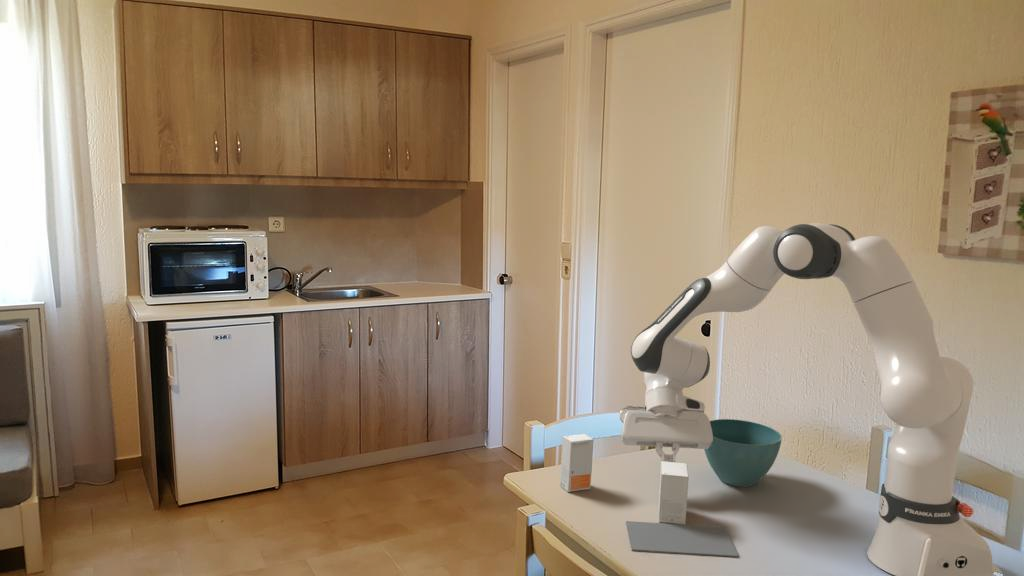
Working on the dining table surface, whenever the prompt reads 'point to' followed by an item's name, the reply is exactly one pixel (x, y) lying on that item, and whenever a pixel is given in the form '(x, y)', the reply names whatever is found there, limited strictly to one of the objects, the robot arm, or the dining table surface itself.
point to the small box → (673, 492)
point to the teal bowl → (742, 451)
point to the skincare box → (576, 462)
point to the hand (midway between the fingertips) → (668, 463)
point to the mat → (680, 539)
